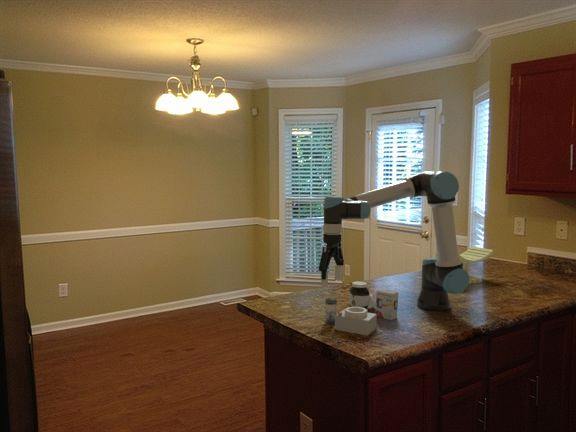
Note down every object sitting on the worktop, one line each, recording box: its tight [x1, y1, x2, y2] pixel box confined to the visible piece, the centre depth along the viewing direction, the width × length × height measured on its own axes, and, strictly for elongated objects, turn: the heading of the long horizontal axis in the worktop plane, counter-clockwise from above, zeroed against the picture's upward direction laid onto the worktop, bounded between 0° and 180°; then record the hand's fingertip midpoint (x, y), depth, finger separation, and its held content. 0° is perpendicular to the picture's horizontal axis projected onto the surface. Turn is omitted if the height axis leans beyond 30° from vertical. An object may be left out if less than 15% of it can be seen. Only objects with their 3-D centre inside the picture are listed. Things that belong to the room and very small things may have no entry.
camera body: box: [334, 306, 378, 336], centre depth 199 cm, size 14×10×8 cm
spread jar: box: [348, 281, 376, 310], centre depth 229 cm, size 12×11×12 cm
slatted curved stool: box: [435, 246, 494, 285], centre depth 283 cm, size 30×16×18 cm, turn 122°
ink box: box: [374, 288, 399, 321], centre depth 214 cm, size 9×5×12 cm, turn 50°
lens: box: [325, 297, 338, 325], centre depth 206 cm, size 5×5×10 cm
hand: (331, 283), depth 205 cm, fingers open, 13 cm apart
